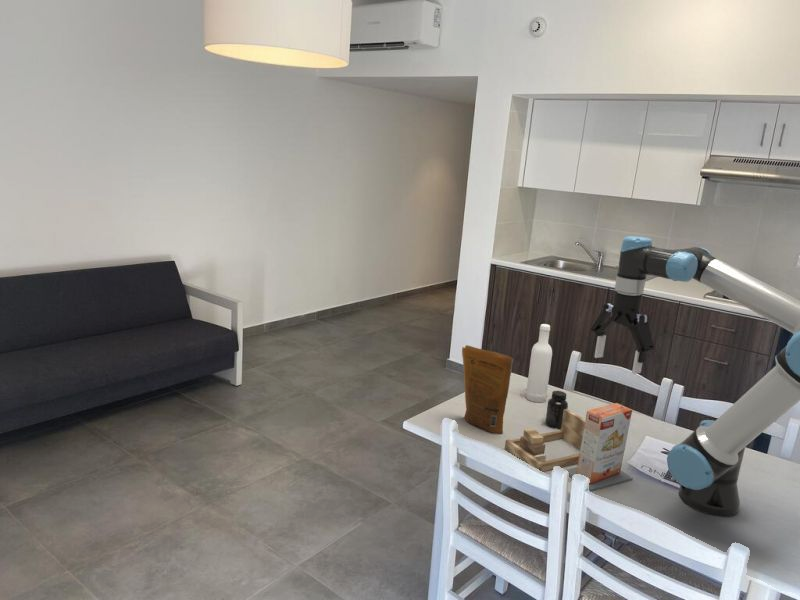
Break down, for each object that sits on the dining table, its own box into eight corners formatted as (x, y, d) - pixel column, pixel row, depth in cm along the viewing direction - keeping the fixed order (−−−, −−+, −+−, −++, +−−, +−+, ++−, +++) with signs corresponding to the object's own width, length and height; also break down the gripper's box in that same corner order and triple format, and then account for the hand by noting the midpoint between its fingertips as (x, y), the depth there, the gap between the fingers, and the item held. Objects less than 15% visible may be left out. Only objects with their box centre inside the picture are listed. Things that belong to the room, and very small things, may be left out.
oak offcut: (542, 445, 181) (543, 437, 181) (532, 445, 180) (533, 438, 180) (533, 436, 187) (534, 428, 186) (523, 436, 186) (524, 429, 185)
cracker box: (591, 485, 170) (602, 418, 165) (575, 475, 175) (585, 409, 170) (622, 473, 178) (633, 409, 173) (605, 464, 183) (616, 401, 178)
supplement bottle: (554, 419, 214) (558, 388, 211) (569, 427, 209) (573, 395, 206) (540, 422, 211) (545, 391, 208) (555, 430, 205) (560, 398, 202)
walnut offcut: (544, 453, 182) (545, 444, 182) (534, 455, 181) (535, 446, 180) (529, 443, 188) (530, 434, 188) (519, 445, 187) (520, 436, 186)
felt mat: (632, 479, 176) (632, 478, 176) (590, 491, 168) (590, 489, 168) (604, 462, 185) (604, 460, 185) (563, 472, 178) (563, 470, 177)
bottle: (547, 397, 234) (558, 324, 227) (544, 404, 227) (554, 329, 220) (527, 393, 237) (537, 320, 230) (523, 399, 230) (532, 325, 223)
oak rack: (597, 458, 187) (602, 429, 185) (537, 472, 176) (542, 442, 174) (562, 436, 201) (566, 409, 199) (504, 448, 190) (508, 419, 187)
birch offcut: (544, 463, 182) (546, 455, 182) (534, 465, 181) (535, 456, 180) (529, 451, 189) (530, 443, 189) (518, 453, 188) (519, 444, 187)
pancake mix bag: (498, 439, 196) (507, 358, 189) (453, 419, 208) (461, 343, 202) (510, 433, 200) (519, 355, 194) (465, 414, 213) (473, 339, 207)
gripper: (676, 302, 156) (662, 378, 161) (603, 282, 177) (593, 349, 182) (658, 304, 152) (644, 381, 157) (585, 283, 173) (575, 352, 178)
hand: (616, 364), depth 170 cm, fingers open, 13 cm apart
